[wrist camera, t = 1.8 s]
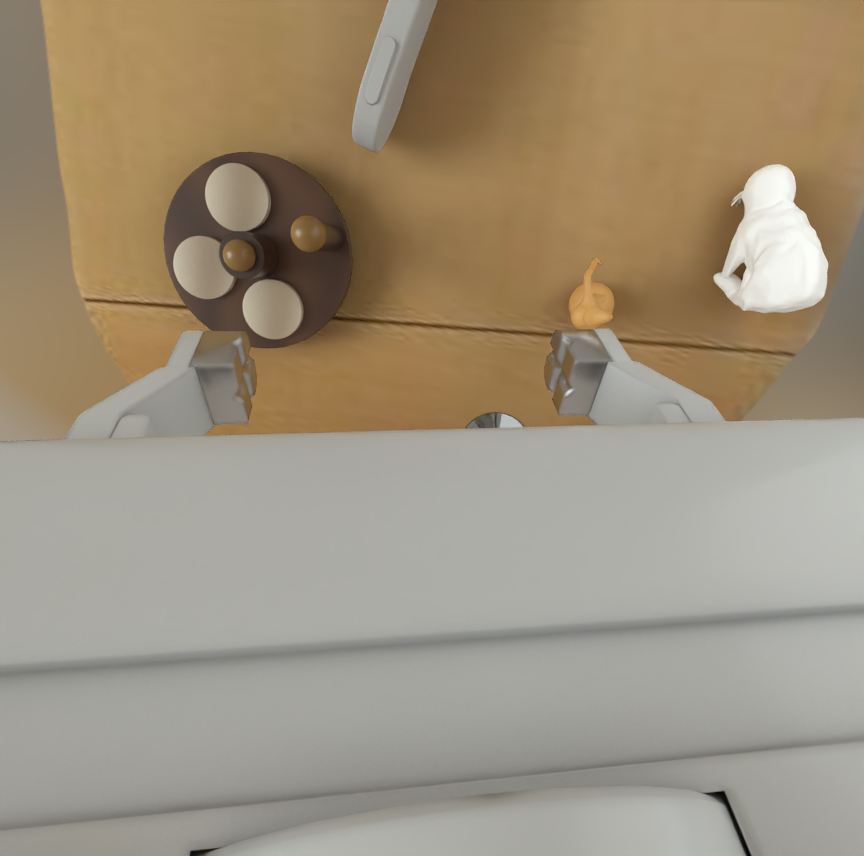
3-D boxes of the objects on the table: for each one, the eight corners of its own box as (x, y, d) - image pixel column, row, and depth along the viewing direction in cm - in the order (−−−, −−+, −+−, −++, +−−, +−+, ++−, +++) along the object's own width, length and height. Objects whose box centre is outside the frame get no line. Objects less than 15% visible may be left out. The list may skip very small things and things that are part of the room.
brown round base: (208, 362, 48) (149, 390, 38) (141, 180, 43) (53, 156, 33) (372, 325, 47) (356, 343, 37) (323, 133, 42) (289, 94, 32)
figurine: (603, 344, 49) (655, 370, 38) (542, 348, 50) (575, 375, 38) (607, 255, 47) (665, 254, 35) (542, 259, 47) (578, 259, 36)
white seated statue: (765, 317, 40) (771, 151, 37) (708, 315, 48) (710, 180, 46) (847, 308, 40) (859, 140, 37) (776, 308, 48) (781, 171, 45)
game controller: (449, -115, 38) (454, -211, 30) (476, -99, 39) (488, -191, 31) (357, 150, 44) (341, 126, 36) (381, 162, 44) (371, 141, 36)
